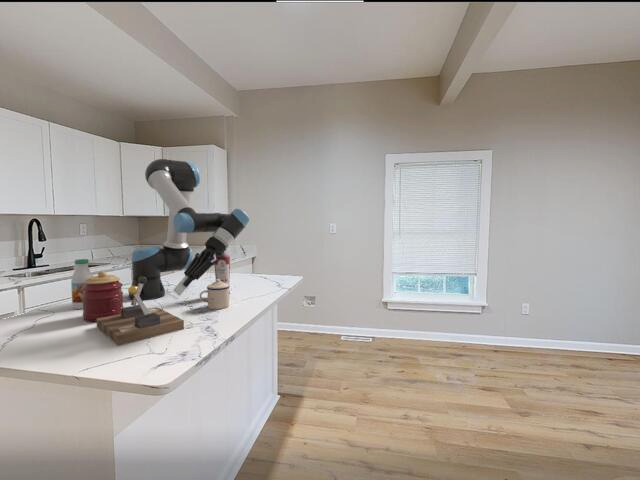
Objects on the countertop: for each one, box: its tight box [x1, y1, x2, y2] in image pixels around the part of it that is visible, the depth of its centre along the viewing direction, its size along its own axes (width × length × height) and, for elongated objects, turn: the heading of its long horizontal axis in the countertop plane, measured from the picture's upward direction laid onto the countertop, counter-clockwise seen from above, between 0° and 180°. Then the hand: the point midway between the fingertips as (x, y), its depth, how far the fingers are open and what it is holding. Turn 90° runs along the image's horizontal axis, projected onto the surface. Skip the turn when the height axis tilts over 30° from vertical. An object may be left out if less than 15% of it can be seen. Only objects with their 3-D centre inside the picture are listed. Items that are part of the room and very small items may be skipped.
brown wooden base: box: [96, 304, 185, 347], centre depth 113 cm, size 23×20×6 cm
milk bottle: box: [70, 258, 93, 310], centre depth 137 cm, size 8×8×20 cm
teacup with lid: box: [199, 279, 230, 310], centre depth 139 cm, size 12×9×12 cm
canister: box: [81, 270, 124, 323], centre depth 125 cm, size 13×13×18 cm
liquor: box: [214, 251, 231, 295], centre depth 156 cm, size 7×7×28 cm
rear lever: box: [130, 276, 147, 306], centre depth 119 cm, size 3×3×11 cm
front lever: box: [127, 286, 149, 315], centre depth 106 cm, size 3×3×11 cm
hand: (176, 292), depth 115 cm, fingers closed
